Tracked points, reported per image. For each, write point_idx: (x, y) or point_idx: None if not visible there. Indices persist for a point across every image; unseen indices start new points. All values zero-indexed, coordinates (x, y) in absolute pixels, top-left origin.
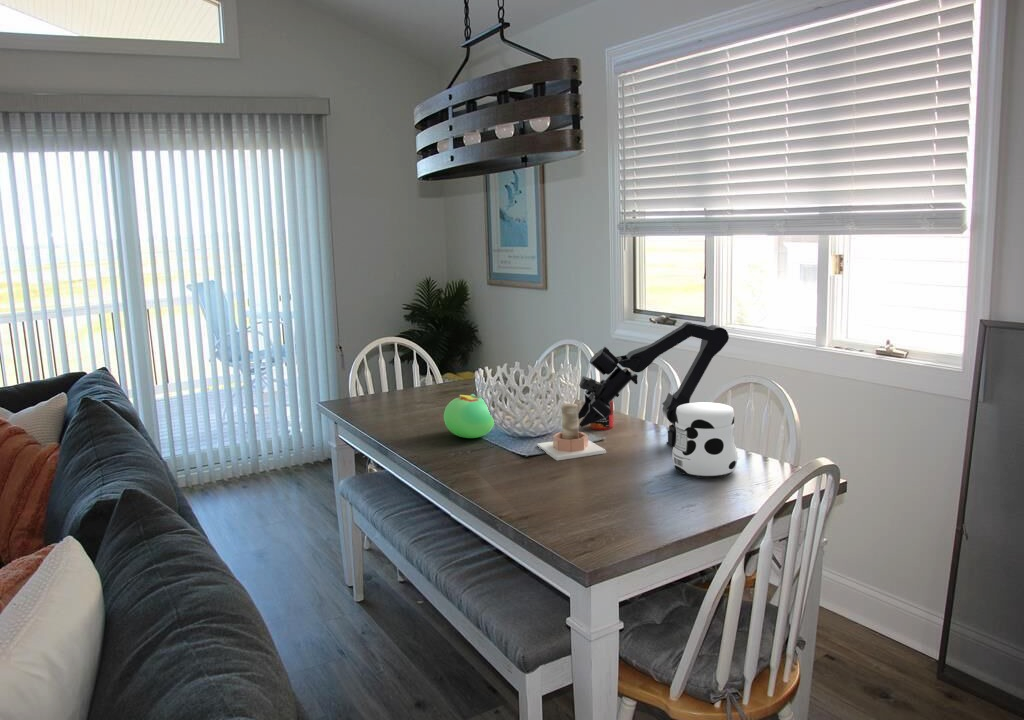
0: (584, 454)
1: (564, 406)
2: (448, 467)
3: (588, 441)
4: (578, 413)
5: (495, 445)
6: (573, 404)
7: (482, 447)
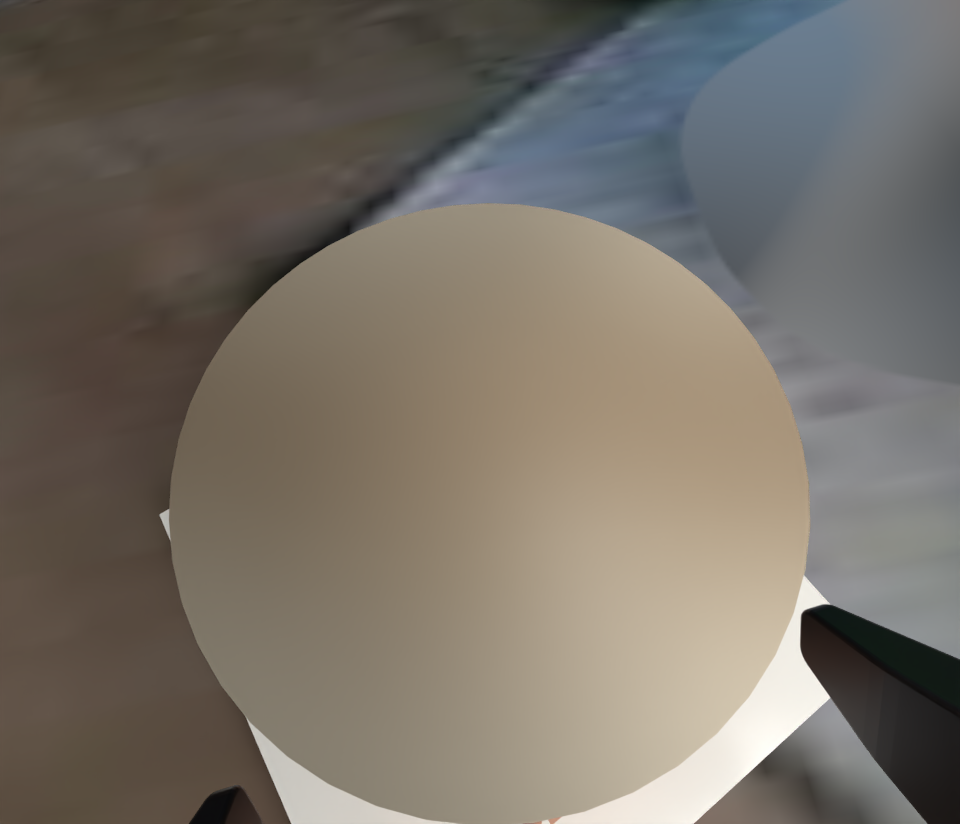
0: (280, 776)
1: (338, 298)
2: (124, 6)
3: (721, 752)
4: (890, 653)
5: (526, 83)
6: (687, 551)
7: (476, 41)
